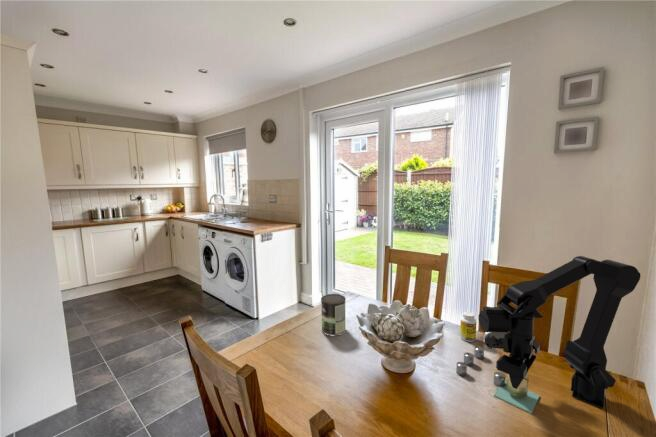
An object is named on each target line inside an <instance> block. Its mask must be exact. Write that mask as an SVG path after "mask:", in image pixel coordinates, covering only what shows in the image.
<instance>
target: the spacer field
mask: <svg viewBox="0 0 656 437" xmlns="http://www.w3.org/2000/svg"><path fill="white" fill-rule="evenodd" d="M473 348H474V351H473V353H471V352H464V353H463V361H457V362H456V368H455V369H456V375H458V376H460V377H467V372H468V371H467V370H468V367H473V366H474V364H475V362H474V361H475V360H474V359H475V358H476V359H478V360H484V358H485V349H484V347H481V346H477V345H475V346H474V347H473ZM467 366H468V367H467ZM506 379H507V375H505V373H504V372H503V373H502V372H501V371H500V372H499V371H494V372H493V385H494V386H496V387H497V388H499V386H502V387H503V386H505V381H506Z"/></svg>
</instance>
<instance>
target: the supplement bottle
mask: <svg viewBox="0 0 656 437" xmlns="http://www.w3.org/2000/svg"><path fill="white" fill-rule="evenodd" d="M459 327H460V329H459V330H460V332H459V336H460V338H461V340H463V341H464V342H469V343H472V342H476V339H477V336H476V335H477V319H476V318H475V314H474V313H473V312H471V311H464V312H463V314H462V316H461V317H460V326H459Z"/></svg>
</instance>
